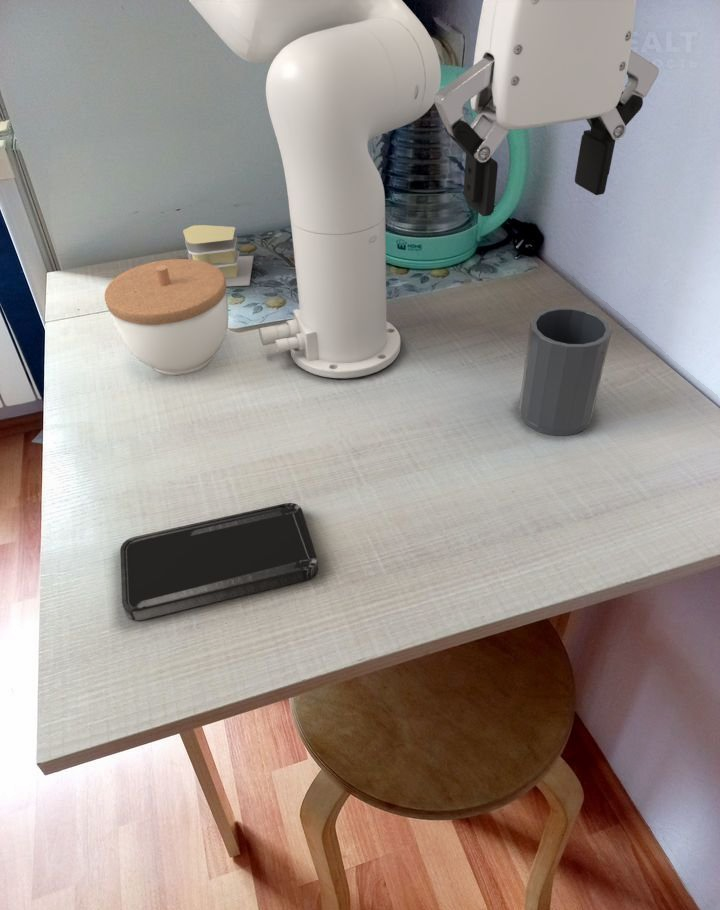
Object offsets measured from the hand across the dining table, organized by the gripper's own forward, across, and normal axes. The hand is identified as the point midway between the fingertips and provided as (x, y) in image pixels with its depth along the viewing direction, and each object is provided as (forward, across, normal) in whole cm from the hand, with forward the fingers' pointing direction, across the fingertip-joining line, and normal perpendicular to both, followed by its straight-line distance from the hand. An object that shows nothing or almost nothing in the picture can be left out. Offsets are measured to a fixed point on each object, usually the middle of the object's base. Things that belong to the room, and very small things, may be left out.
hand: (535, 199), depth 55 cm
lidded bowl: (+23, +28, -25) cm, 44 cm away
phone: (+22, +30, +7) cm, 38 cm away
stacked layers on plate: (+23, +20, -45) cm, 54 cm away
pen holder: (+22, -5, 0) cm, 23 cm away
